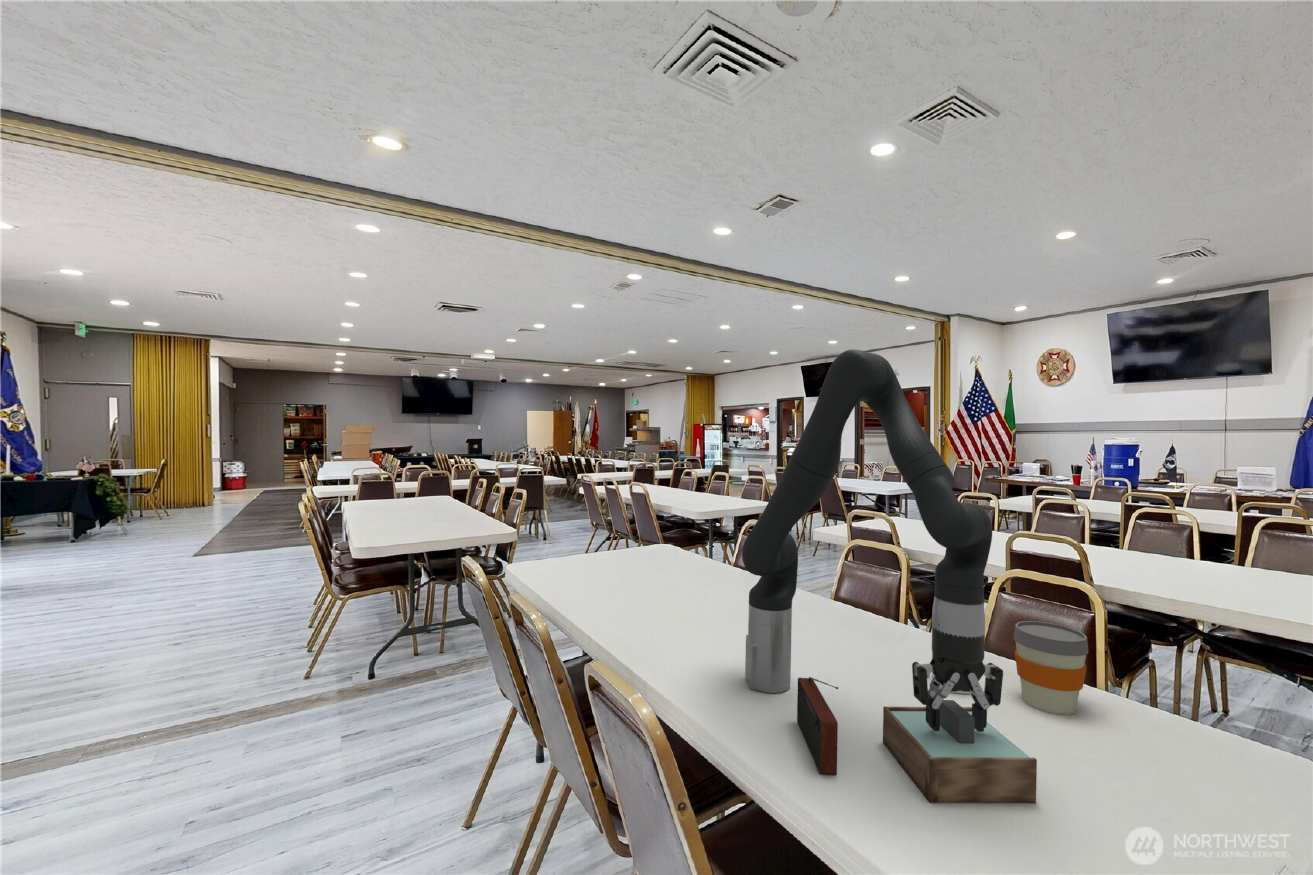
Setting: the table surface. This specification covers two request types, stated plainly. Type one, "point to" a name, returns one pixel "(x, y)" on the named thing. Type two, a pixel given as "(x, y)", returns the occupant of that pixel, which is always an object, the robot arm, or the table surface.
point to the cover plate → (950, 746)
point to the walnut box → (959, 770)
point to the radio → (817, 725)
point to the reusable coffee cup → (1050, 665)
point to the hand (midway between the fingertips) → (955, 728)
